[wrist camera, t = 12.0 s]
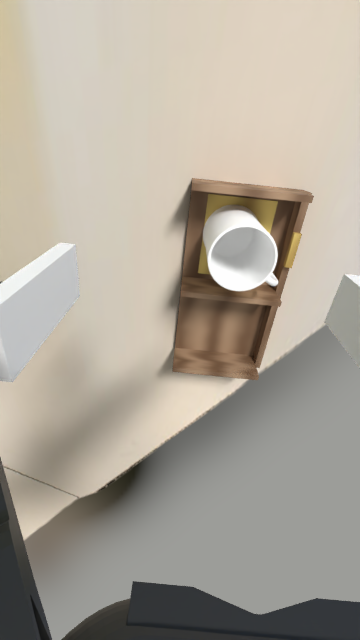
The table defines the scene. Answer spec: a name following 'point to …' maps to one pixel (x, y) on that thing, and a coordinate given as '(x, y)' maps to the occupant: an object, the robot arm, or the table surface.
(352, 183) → the table surface
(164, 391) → the table surface
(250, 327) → the rack
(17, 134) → the table surface
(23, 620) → the robot arm
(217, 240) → the mug
